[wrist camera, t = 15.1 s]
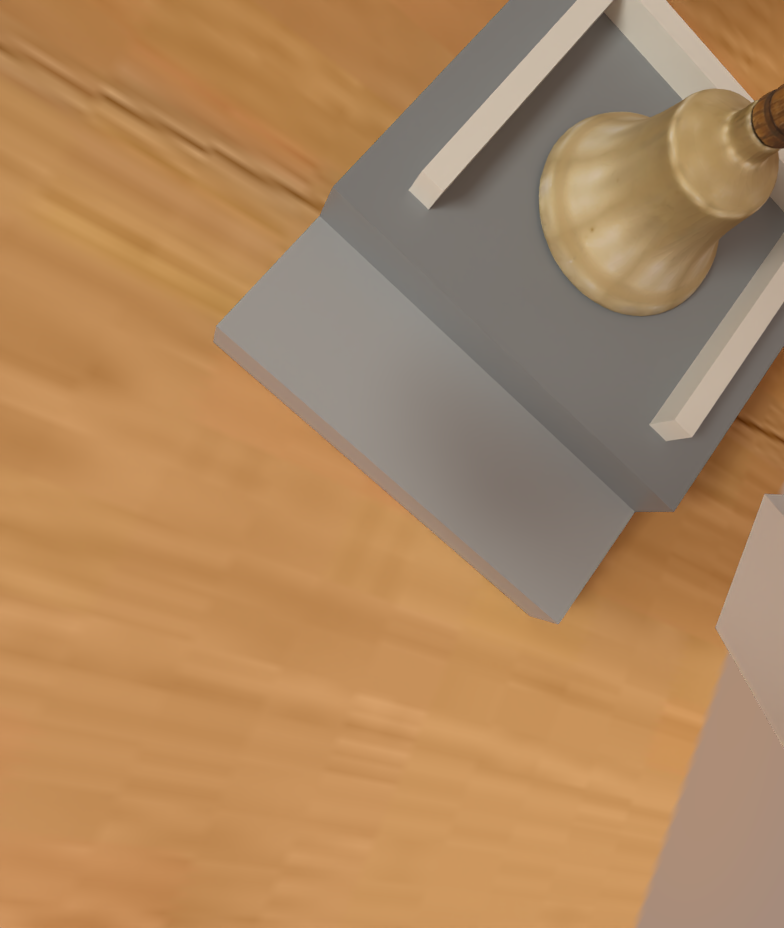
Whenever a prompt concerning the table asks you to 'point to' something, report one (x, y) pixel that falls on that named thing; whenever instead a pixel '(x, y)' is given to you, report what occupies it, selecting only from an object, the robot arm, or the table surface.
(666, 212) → the hand bell
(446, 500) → the dock
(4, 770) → the table surface
